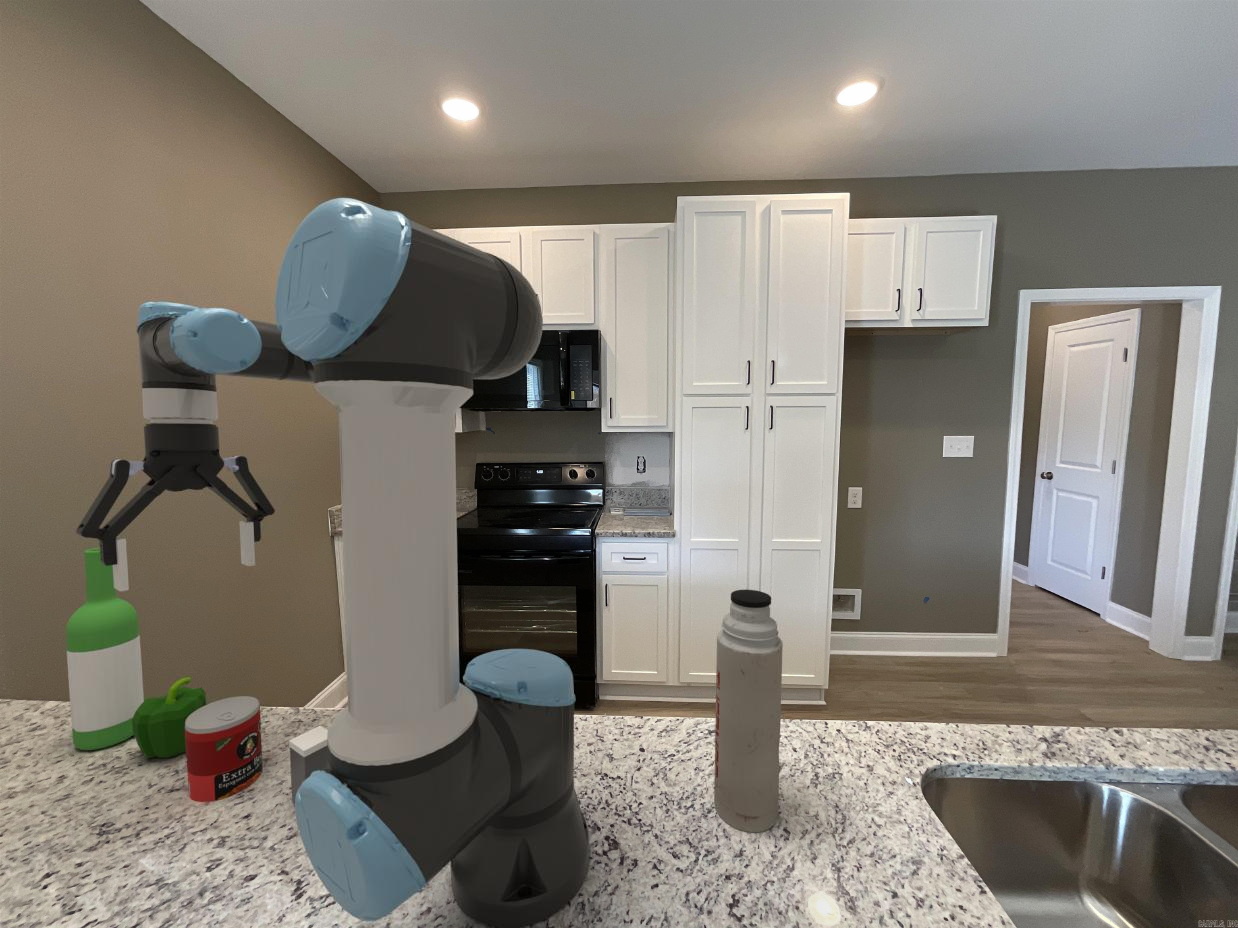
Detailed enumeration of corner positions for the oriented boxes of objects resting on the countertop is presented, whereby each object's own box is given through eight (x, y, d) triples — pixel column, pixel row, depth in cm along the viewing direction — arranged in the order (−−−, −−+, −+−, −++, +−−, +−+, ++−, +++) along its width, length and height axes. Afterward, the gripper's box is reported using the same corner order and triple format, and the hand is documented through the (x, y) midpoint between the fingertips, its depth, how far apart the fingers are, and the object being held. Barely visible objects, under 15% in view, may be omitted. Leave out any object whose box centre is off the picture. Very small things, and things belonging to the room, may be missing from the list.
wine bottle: (136, 717, 81) (125, 541, 79) (152, 732, 77) (141, 547, 75) (66, 742, 74) (53, 550, 72) (81, 760, 70) (67, 557, 68)
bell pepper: (144, 775, 67) (140, 706, 66) (126, 754, 71) (122, 689, 71) (219, 742, 74) (216, 680, 73) (198, 725, 78) (195, 666, 78)
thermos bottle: (706, 818, 60) (710, 598, 58) (722, 777, 67) (726, 580, 65) (773, 842, 56) (779, 609, 55) (782, 796, 64) (787, 589, 62)
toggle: (337, 795, 62) (335, 734, 61) (306, 814, 58) (303, 750, 58) (322, 784, 64) (320, 725, 63) (291, 802, 60) (288, 740, 60)
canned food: (222, 817, 60) (218, 732, 59) (171, 806, 61) (167, 724, 61) (277, 774, 67) (274, 698, 67) (231, 766, 69) (227, 692, 68)
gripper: (273, 424, 78) (278, 553, 79) (33, 420, 57) (45, 596, 58) (296, 424, 74) (301, 559, 75) (47, 419, 53) (60, 608, 54)
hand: (190, 575), depth 67 cm, fingers open, 13 cm apart
